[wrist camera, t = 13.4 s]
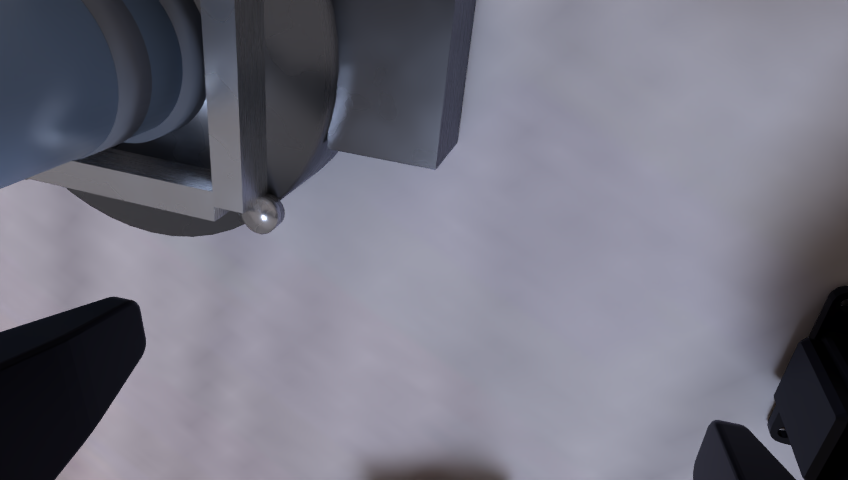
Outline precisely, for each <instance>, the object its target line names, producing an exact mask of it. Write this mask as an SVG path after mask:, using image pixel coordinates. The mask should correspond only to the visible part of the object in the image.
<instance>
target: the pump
mask: <svg viewBox="0 0 848 480" xmlns="http://www.w3.org/2000/svg"><path fill="white" fill-rule="evenodd" d="M205 100H206V83H205V68H204V52H203V37H202V21H201V14H200V12H199V10H198V8H197V6H196V4H195V2H194V1H193V0H0V189H1V188H4V187H6V186H9V185H11V184H14V183H16V182H19V181H21V180H24V179H27V178H29V177H32V176H34V175H37V174H39V173H42V172H44V171H47V170H50V169H52V168H55V167H57V166H60V165H62V164H65V163H67V162H70V161H72V160H78V159H82V158H85V157H88V156H91V155H93V154H96V153H98V152H101V151H103V150H106V149H108V148H111V147H113V146H116V145H118V144H120V143H122V142H124V143H143V142H147V141H151V140H154V139H156V138H159V137H161V136H164V135H166V134H169V133H171V132H173V131H176V130H178V129H180V128H182V127H183V126H185V125H186V124H188V123H189V122H190V121H191V120H192V119H193V118H194V117H195V116H196V115H197V113H198V112H199V111H200V109H201V108H202V106H203V104H204V102H205Z"/></svg>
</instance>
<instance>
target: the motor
mask: <svg viewBox="0 0 848 480" xmlns="http://www.w3.org/2000/svg"><path fill="white" fill-rule="evenodd" d="M193 1H194V2H195V4H196V6H197V8H198V10H199V12H200V14H201V21H202V37H203V52H204V68H205V83H206V100H205V102H204V104H203V106H202V108H201V109H200V111H199V112H198V113H197V115H196V116H195V117H194V118H193V119H192V120H191V121H190V122H189V123H188V124H186V125H185V126H183V127H182V128H180V129H178V130H176V131H173V132H171V133H169V134H166V135H164V136H161V137H159V138H156V139H154V140H151V141H147V142H143V143H124V142H122V143H120V144H118V145H116V146H113V147H111V148H108V149H106V150H103V151H101V152H98V153H96V154H93V155H91V156H88V157H85V158H82V159H78V160H72V161H70V162H67V163H65V164H62V165H60V166H57V167H55V168H52V169H50V170H47V171H44V172H42V173H39V174H37V175H34V176H32V177H29V178H27V179H32V180H36V181H40V182H45V183H49V184H53V185H58V186H62V187H66V188H67V189H68V190H69V191H70V192H72V193H73V194H74V195H76V196H77V197H79V198H80V199H82V200H83V201H84V202H86V203H87V204H89V205H90V206H92V207H94V208H95V209H97V210H99V211H101V212H102V213H104V214H106V215H108V216H110V217H112V218H114V219H116V220H118V221H121V222H123V223H125V224H128V225H130V226H133V227H136V228H139V229H143V230H146V231H149V232H153V233H159V234H165V235H171V236H190V237H194V236H203V235H213V234H217V233H220V232H224V231H228V230H232V229H234V228H236V227H239V226H241V225H243V224H246V225H247V227H248V228H249V229H251V230H252V231H254V232H256V233H259V234H267V233H269V232H271V231H272V230H273V229H275V228H276V227H277V226H278V225H279V224H280V223H281V222H282V221H283V219H284V215H285V212H284V208H283V205H282V203H281V202H280V200H281V199H282V198H284V197H285V196H286V195H288V194H289V193H290V192H292V191H293V190H294V189H296V188H297V187H298V186H300V185H301V184H302V183H304V182H305V181H306V180H307V179H309V178H310V177H311V176H313V175H314V174H315V173H317V172H318V171H319V170H320V169H321V168H323V167H324V166H325V165H326V164H327V163H328V162H329V161H330V160H331V159H332V158H333V157H334V156H335V155H336V153H337V152H338V151H342V152H347V153H352V154H357V155H362V156H367V157H373V158H378V159H383V160H388V161H393V162H398V163H403V164H408V165H413V166H419V167H424V168H429V169H434V170H436V169H437V167H438V166H439V165H440V164H441V162H442V161H443V160H444V159H445V157H446V156H447V155H448V154H449V152H450V151H451V150H452V149H453V147H454V146H455V145H456V144H457V141H458V133H459V125H460V118H461V110H462V102H463V95H464V87H465V79H466V72H467V64H468V57H469V49H470V41H471V34H472V26H473V18H474V11H475V3H476V0H193ZM27 179H25V180H27Z"/></svg>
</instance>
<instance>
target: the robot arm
mask: <svg viewBox="0 0 848 480" xmlns="http://www.w3.org/2000/svg"><path fill="white" fill-rule="evenodd" d="M846 299H848V286H842V287H838V288H836V289H835V290H833V291H832V292H831V293H830V295H829V296H828V298H827V300H826V302H825V304H824V306H823V309H822V311H821V313H820V315H819V317H818V319H817V321H816V323H815V325H814V327H813V329H812V331H811V333H810V336H809V338H805V339H804V340H802V341H800V342H799V344H798V346H797V348H796V350H795V352H794V354H793V356H792V358H791V360H790V362H789V365H788V367H787V369H786V371H785V373H784V375H783V377H782V379H781V381H780V383H779V386H778V388H777V390H776V392H775V394H774V399H775V402H776V406H775V408H774V410H773V412H772V414H771V416H770V418H769V421H768V425H767V426H768V429H769V432H770V435H771V437H772V438H773V439H774V440H775V441H778V442H780V443H784V444H788V445H791V447H792V449H793V452H794V455H795V458H796V461H797V463H798V466H799V469H800V472H801V475H802V477H803V478H804V480H848V306H841V303H842V302H843V301H844V300H846ZM145 347H146V338H145V332H144V327H143V322H142V316H141V311H140V307H139V305H138V304H137V303H136V302H135V301H133V300H129V299H124V298H119V297H109V298H105V299H102V300H99V301H96V302H93V303H90V304H87V305H84V306H80V307H77V308H74V309H71V310H68V311H65V312H62V313H59V314H56V315H52V316H49V317H46V318H43V319H40V320H37V321H34V322H31V323H27V324H24V325H21V326H18V327H15V328H12V329H9V330H6V331H2V332H0V480H55V479H56V478H57V476H58V475H59V474H60V473H61V471H62V470H63V469H64V468H65V466H66V465H67V464H68V463H69V461H70V460H71V459H72V457H73V456H74V455H75V454H76V452H77V451H78V450H79V449H80V447H81V446H82V445H83V444H84V442H85V441H86V440H87V438H88V437H89V436H90V434H91V433H92V432H93V430H94V429H95V427H96V426H97V424H98V423H99V422H100V420H101V419H102V417H103V416H104V414H105V413H106V411H107V409H108V408H109V406H110V405H111V403H112V402H113V400H114V399H115V397H116V396H117V394H118V393H119V391H120V389H121V388H122V386H123V385H124V383H125V382H126V380H127V379H128V377H129V376H130V374H131V373H132V371H133V369H134V368H135V366H136V365H137V363H138V362H139V360H140V359H141V357H142V355H143V353H144V351H145ZM782 427H785V430H779V429H780V428H782ZM693 480H796V479H795V478H794V477H793V476H792V475H791V474H790V473H789V472H788V471H787V470H786V469H785V468H784V466H783V465H782V464H781V463H780V462H779V461H778V460H777V459H776V458H775V457H774V456H773V455H772V454H771V453H770V452H769V451H768V450H767V448H766V447H765V446H764V445H763V444H762V443H761V442H760V441H759V440H758V439H757V438H756V437H755V436H754V435H753V434H752V433H751V431H750V430H749V429H747V428H746V427H745V426H743V425H740V424H736V423H731V422H726V421H721V420H715V421H712V422H711V423H710V425H709V426H708V428H707V431H706V434H705V436H704V439H703V442H702V444H701V447H700V450H699V452H698V455H697V457H696V460H695V464H694V470H693Z"/></svg>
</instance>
